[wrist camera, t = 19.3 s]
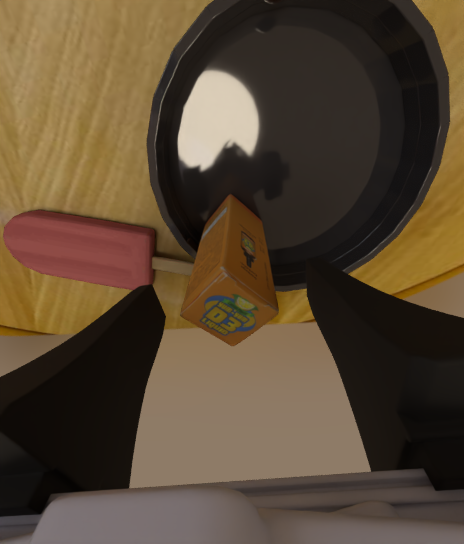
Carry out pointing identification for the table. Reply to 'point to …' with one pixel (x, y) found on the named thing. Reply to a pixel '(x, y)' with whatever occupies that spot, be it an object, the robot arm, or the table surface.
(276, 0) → the pan handle
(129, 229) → the popsicle
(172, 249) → the table surface
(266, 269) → the supplement box
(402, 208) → the pan
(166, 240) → the table surface
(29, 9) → the table surface
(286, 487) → the robot arm
